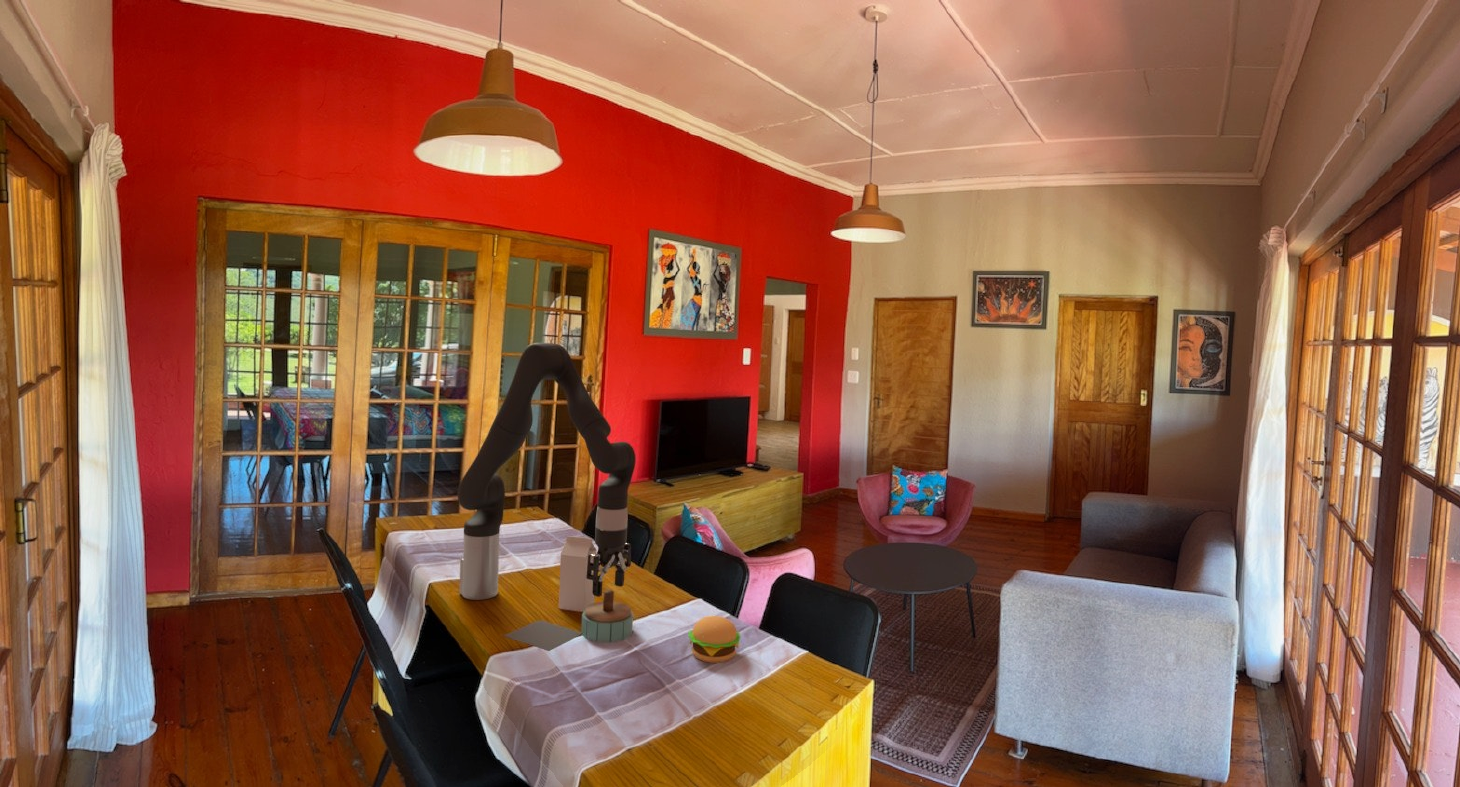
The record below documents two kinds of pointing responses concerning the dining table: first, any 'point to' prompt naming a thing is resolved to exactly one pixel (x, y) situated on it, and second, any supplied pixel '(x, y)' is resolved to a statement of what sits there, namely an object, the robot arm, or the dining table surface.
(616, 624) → the bowl
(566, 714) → the dining table surface
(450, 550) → the dining table surface
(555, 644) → the mat
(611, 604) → the lid
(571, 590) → the milk carton
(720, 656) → the hamburger
